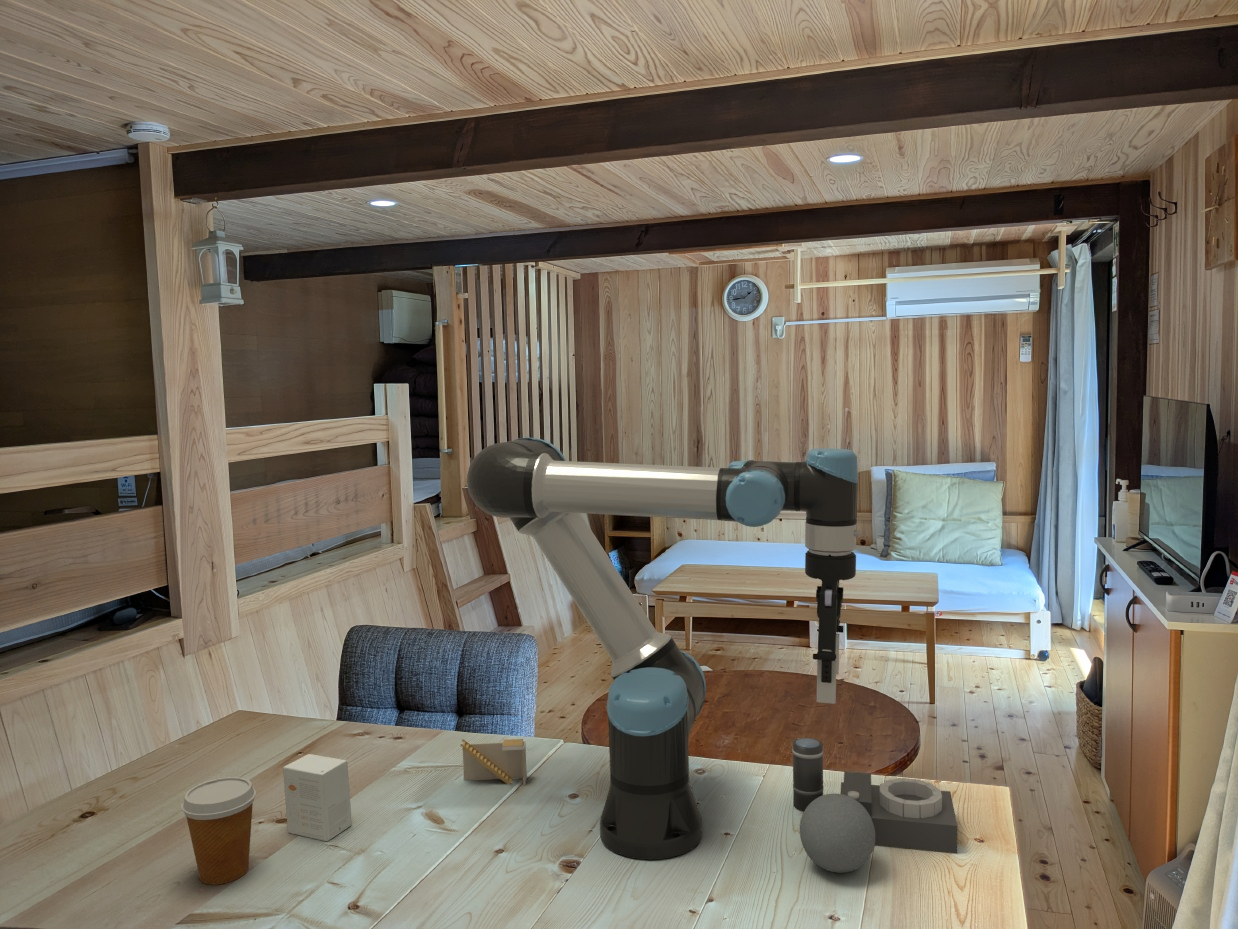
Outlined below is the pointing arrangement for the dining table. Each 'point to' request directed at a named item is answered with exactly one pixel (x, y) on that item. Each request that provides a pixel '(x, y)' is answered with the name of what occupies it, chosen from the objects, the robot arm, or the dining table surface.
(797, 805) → the lens
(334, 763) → the small box
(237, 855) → the disposable coffee cup
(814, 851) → the decorative stone
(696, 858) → the dining table surface
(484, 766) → the model
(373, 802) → the dining table surface
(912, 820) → the camera body
